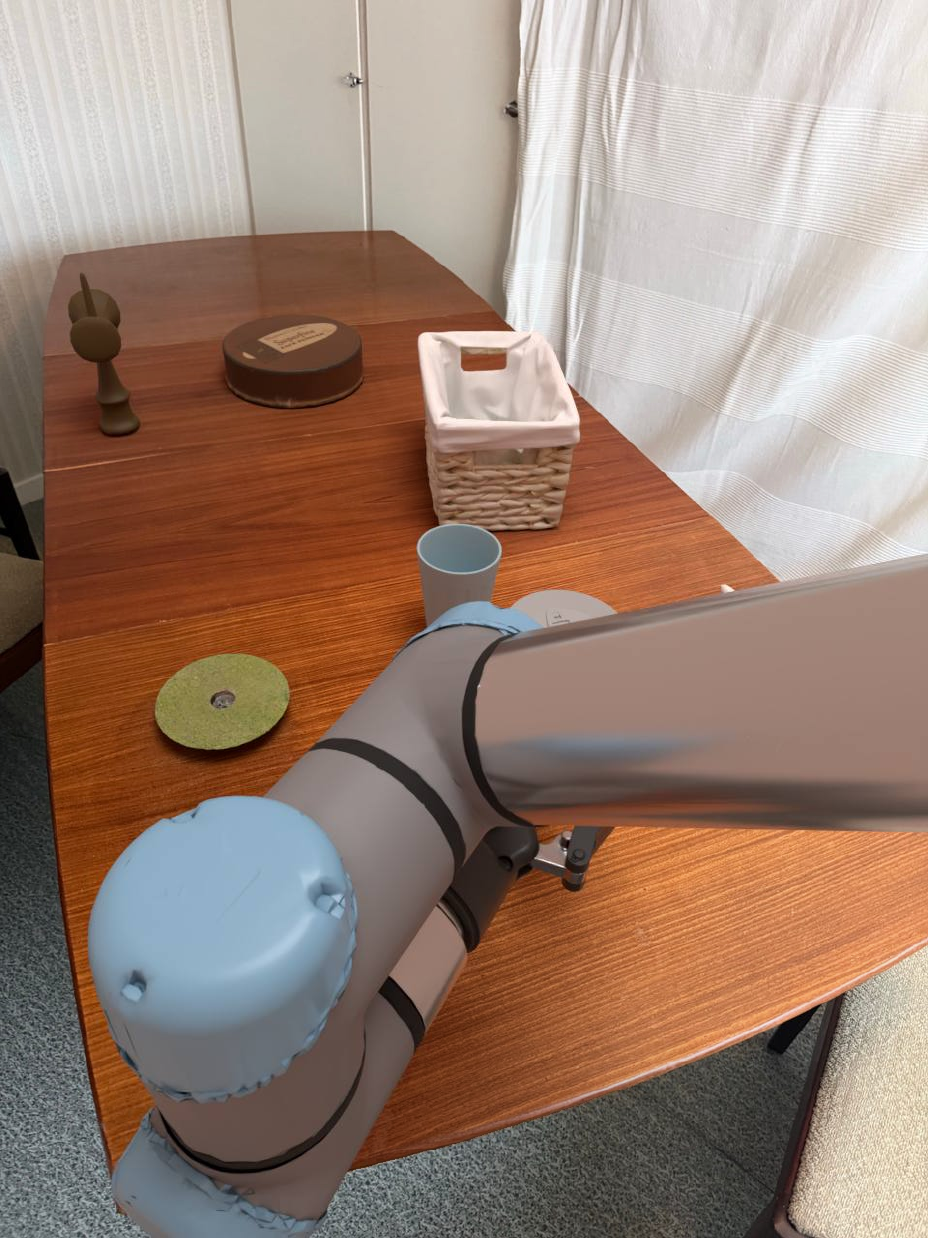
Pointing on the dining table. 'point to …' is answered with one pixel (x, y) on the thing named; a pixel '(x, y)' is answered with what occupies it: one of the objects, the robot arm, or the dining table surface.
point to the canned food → (561, 607)
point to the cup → (456, 567)
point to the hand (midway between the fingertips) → (587, 639)
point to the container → (293, 360)
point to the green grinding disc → (222, 701)
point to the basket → (497, 430)
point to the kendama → (102, 354)
